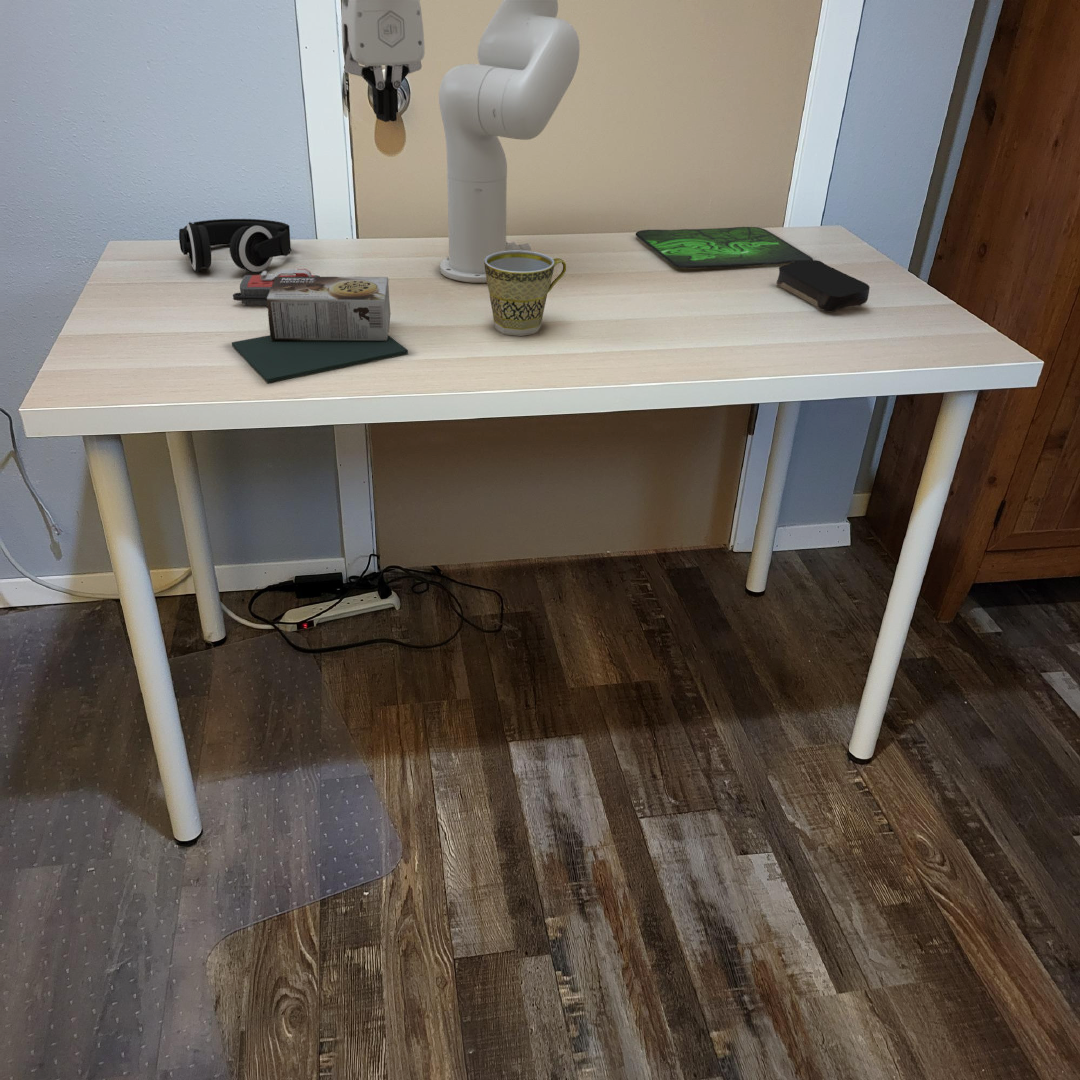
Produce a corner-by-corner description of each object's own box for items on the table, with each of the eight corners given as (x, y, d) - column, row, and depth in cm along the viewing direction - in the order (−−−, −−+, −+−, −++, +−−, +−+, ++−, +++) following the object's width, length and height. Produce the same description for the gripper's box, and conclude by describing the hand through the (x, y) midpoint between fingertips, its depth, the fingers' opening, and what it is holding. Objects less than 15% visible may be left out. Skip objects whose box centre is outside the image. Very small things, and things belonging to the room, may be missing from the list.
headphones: (160, 225, 153) (195, 206, 171) (167, 276, 156) (200, 252, 174) (275, 229, 154) (297, 209, 172) (279, 279, 157) (301, 255, 175)
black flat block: (871, 311, 155) (877, 288, 153) (827, 316, 152) (832, 293, 150) (810, 279, 167) (815, 257, 165) (769, 283, 164) (772, 262, 162)
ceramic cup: (506, 345, 138) (507, 276, 133) (472, 322, 145) (471, 255, 140) (581, 329, 144) (585, 262, 139) (545, 308, 151) (547, 243, 146)
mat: (365, 321, 144) (365, 317, 144) (408, 353, 135) (407, 349, 134) (232, 346, 135) (231, 342, 135) (267, 383, 125) (267, 379, 125)
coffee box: (391, 318, 144) (279, 317, 143) (388, 275, 140) (274, 274, 139) (387, 343, 136) (269, 342, 135) (384, 298, 133) (264, 297, 132)
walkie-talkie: (231, 311, 146) (366, 311, 147) (226, 282, 143) (364, 283, 145) (241, 291, 153) (370, 292, 155) (237, 263, 151) (368, 264, 152)
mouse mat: (760, 228, 192) (761, 222, 191) (818, 262, 174) (819, 257, 174) (631, 235, 185) (631, 230, 184) (677, 272, 167) (678, 266, 167)
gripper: (334, -34, 117) (346, 129, 128) (444, -34, 124) (447, 120, 135) (311, -38, 123) (324, 119, 133) (417, -38, 130) (422, 111, 140)
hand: (386, 119), depth 134 cm, fingers closed
